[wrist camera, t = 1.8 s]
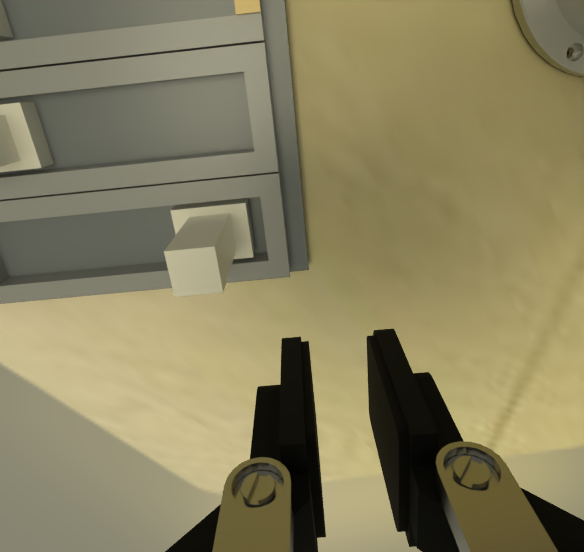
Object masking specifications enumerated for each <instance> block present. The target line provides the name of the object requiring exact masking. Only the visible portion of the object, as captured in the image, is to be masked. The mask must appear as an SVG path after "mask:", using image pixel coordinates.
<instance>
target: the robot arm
mask: <svg viewBox="0 0 584 552" xmlns="http://www.w3.org/2000/svg"><path fill="white" fill-rule="evenodd" d="M512 2H513V7H514V12H515V15H516V18H517V20H518V22H519V25H520V27H521V29H522V32H523V34H524V36H525V37H526V39H527V40H528V41H529V43H530V44H531V46H532V47H533V48H534V50H535V51H536V52H537V53H538V54H539V55H540V56H541V57H543V58H544V59H545V60H546V61H547V62H548V63H550V64H551V65H552V66H554V67H556V68H558V69H560V70H562V71H564V72H566V73H569V74H572V75H577V76H581V77H584V0H512ZM567 50H569V54H568V56H567V54H566V53H567ZM367 362H368V393H369V415H370V421H371V426H372V430H373V434H374V438H375V442H376V446H377V451H378V455H379V459H380V463H381V467H382V471H383V475H384V480H385V483H386V488H387V492H388V496H389V500H390V504H391V509H392V513H393V517H394V521H395V525H396V528H397V531H398V532H401V531H405V532H406V536H407V540H408V544H409V547H413V546H416V547H417V548H418V549H419V550H421V551H422V552H584V521H583V520H582V519H580V518H578V517H576V516H574V515H572V514H570V513H568V512H566V511H564V510H562V509H560V508H559V507H557V506H555V505H553V504H551V503H549V502H547V501H545V500H543V499H541V498H539V497H537V496H535V495H534V494H531V493H530V492H528V491H526V490H524V489H522V488H520V487H519V485H518V483H517V482H516V480H515V478H514V477H513V475H512V473H511V472H510V470H509V468H508V467H507V465H506V463H505V462H504V461H503V460H502V458H501V457H500V456H499V455H498V454H496V453H495V452H494V451H492V450H491V449H489V448H487V447H485V446H483V445H481V444H477V443H473V442H464V441H463V439H462V437H461V435H460V433H459V431H458V429H457V427H456V425H455V423H454V421H453V419H452V417H451V415H450V413H449V411H448V408H447V406H446V404H445V402H444V400H443V398H442V396H441V394H440V392H439V390H438V388H437V386H436V384H435V382H434V380H433V378H432V376H431V374H430V373H428V372H425V373H414V374H413V372H412V370H411V367H410V365H409V363H408V360H407V358H406V356H405V353H404V351H403V349H402V346H401V344H400V342H399V339H398V337H397V335H396V332H395V330H394V329H384V330H374V333H373V336H367ZM318 537H326V534H325V521H324V509H323V497H322V485H321V472H320V460H319V448H318V436H317V424H316V413H315V403H314V392H313V382H312V372H311V362H310V351H309V341H305V342H301V337H293V338H282V351H281V385H271V386H260V387H258V389H257V396H256V406H255V416H254V426H253V435H252V445H251V455H250V459H249V460H247V461H245V462H243V463H241V464H239V465H238V466H237V467H236V468H234V469H233V470H232V472H231V473H230V474H229V476H228V477H227V480H226V483H225V485H224V490H223V496H222V501H221V505H219V506H218V507H217V508H216V509H215V510H214V511H212V512H211V513H210V514H209V515H208V516H206V517H205V518H204V519H203V520H202V521H201V522H200V523H199V524H197V525H196V526H195V527H194V528H192V530H190V531H189V532H188V533H187V534H185V535H184V536H183V537H182V538H181V539H180V540H178V541H177V542H176V543H175V544H174V545H173V546H171V547H170V548H169V549H168V550H167V551H166V552H318V546H317V538H318Z"/></svg>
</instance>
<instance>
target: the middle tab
mask: <svg viewBox="0 0 584 552" xmlns="http://www.w3.org/2000/svg"><path fill="white" fill-rule="evenodd" d="M52 164H54V162H53V159H52V156H51V153H50V149H49V146H48V143H47V140H46V137H45V134H44V131H43V128H42V124H41V121H40V118H39V115H38V112H37V109H36V106H35V103H34V101H33V102H20V103H11V104H1V105H0V172H8V171H17V170H27V169H37V168H43V167H46V166H49V165H52Z"/></svg>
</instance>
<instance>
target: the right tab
mask: <svg viewBox="0 0 584 552" xmlns="http://www.w3.org/2000/svg"><path fill="white" fill-rule="evenodd" d="M170 211H171V216H172V220H173V225H174V229H175V234H176V235H175V237H174V238H173V239H172V241H171V242H170V244H169V245H168V246H167V248H166V249H165V250H164V255H165V259H166V263H167V267H168V272H169V276H170V280H171V284H172V288H173V293H174V297H181V296H191V295H202V294H213V293H223V291H224V288H225V285H226V282H227V278H228V275H229V272H230V269H231V266H232V262H233V259H242V258H253V257H254V252H255V246H254V239H253V232H252V225H251V218H250V211H249V204H248V198H241V199H231V200H221V201H211V202H200V203H190V204H180V205H175V206H174V207H173V208H172V209H171V210H170Z"/></svg>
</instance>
